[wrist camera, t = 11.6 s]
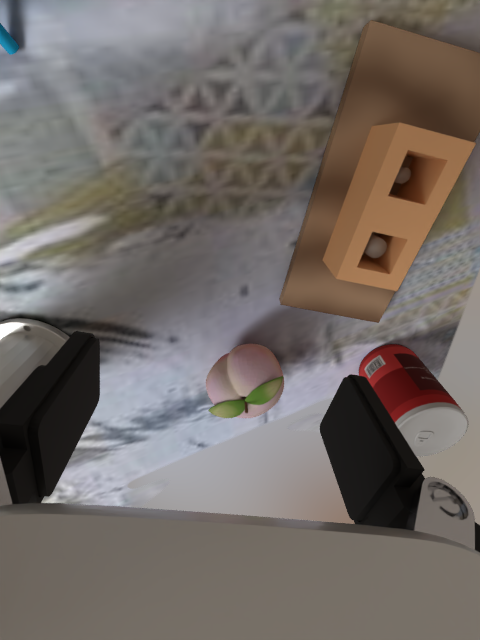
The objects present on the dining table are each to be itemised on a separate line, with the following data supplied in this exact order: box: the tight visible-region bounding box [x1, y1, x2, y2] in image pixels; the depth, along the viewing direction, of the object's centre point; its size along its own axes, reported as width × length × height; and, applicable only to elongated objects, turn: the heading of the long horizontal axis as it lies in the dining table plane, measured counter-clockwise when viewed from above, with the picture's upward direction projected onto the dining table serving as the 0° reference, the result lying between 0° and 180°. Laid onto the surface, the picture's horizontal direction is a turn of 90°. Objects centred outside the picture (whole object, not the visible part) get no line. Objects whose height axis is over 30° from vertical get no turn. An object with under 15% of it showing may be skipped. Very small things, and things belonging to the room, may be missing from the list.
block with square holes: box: [323, 122, 476, 291], centre depth 26 cm, size 12×6×5 cm, turn 168°
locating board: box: [279, 20, 480, 323], centre depth 27 cm, size 24×12×5 cm, turn 168°
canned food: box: [359, 344, 468, 456], centre depth 36 cm, size 8×8×11 cm
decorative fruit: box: [206, 344, 284, 418], centre depth 35 cm, size 9×8×10 cm
